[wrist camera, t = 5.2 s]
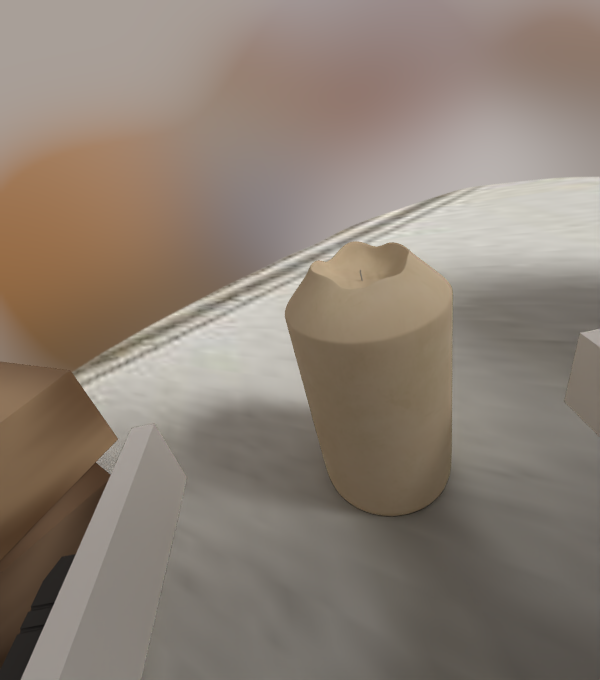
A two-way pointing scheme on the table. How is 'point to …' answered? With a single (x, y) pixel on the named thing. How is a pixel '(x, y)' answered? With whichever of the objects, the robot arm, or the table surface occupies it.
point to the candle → (378, 373)
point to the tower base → (45, 551)
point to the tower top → (43, 443)
